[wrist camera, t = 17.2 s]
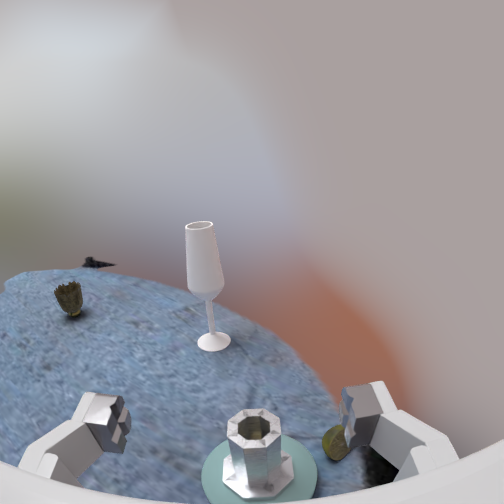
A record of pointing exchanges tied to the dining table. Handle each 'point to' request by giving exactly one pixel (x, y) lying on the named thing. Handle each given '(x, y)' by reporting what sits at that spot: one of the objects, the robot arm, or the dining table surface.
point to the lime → (335, 443)
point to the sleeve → (256, 457)
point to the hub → (300, 489)
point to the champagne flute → (205, 277)
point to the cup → (70, 298)
